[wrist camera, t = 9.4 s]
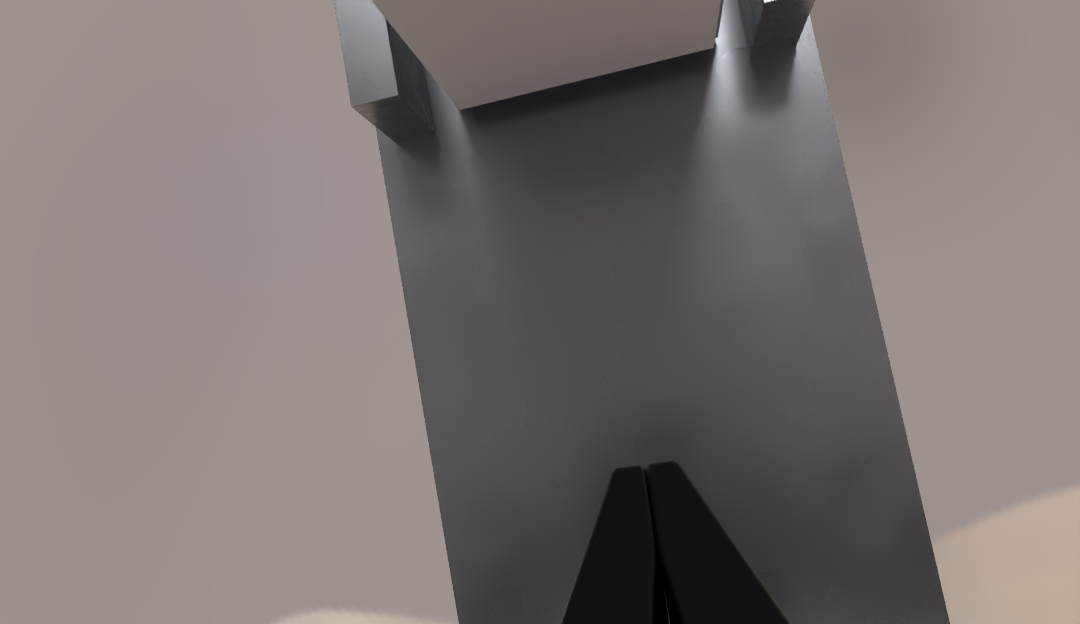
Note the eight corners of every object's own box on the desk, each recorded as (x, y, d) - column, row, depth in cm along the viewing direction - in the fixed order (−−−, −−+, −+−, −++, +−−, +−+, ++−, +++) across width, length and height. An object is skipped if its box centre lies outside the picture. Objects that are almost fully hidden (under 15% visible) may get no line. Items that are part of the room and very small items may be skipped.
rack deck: (940, 641, 16) (1125, 829, 10) (485, 698, 18) (379, 894, 11) (708, -372, 18) (731, -774, 12) (325, -247, 20) (160, -544, 13)
